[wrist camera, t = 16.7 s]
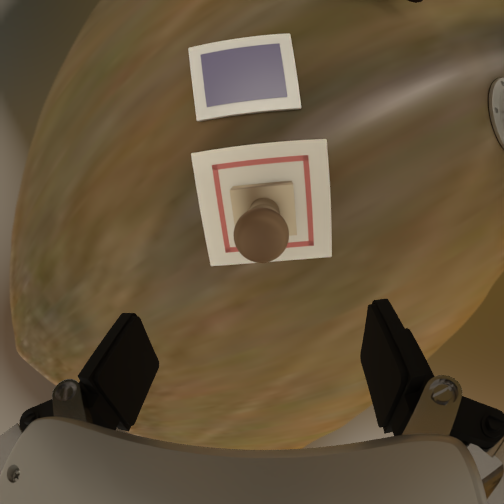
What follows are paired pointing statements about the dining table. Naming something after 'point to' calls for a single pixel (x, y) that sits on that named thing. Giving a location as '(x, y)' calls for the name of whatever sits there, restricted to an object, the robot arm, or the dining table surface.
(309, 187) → the paper sheet
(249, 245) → the stamp
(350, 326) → the dining table surface
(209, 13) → the dining table surface
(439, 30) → the dining table surface
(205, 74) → the ink pad
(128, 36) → the dining table surface
